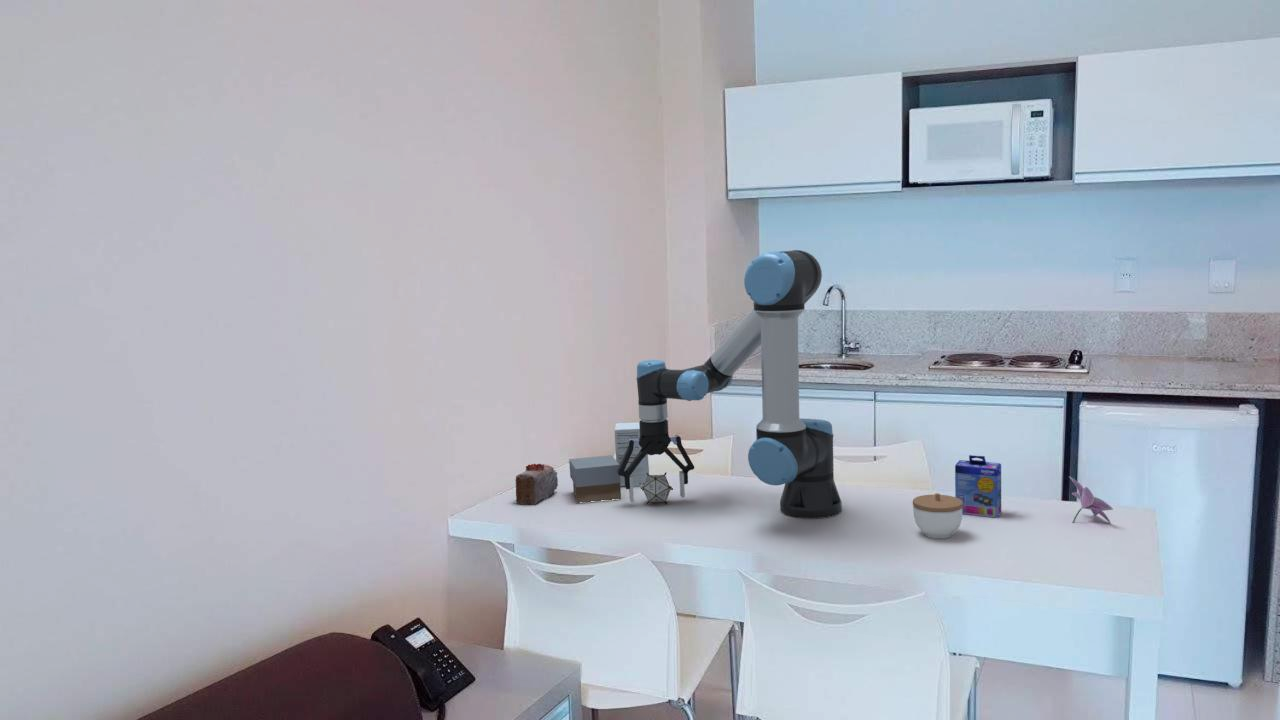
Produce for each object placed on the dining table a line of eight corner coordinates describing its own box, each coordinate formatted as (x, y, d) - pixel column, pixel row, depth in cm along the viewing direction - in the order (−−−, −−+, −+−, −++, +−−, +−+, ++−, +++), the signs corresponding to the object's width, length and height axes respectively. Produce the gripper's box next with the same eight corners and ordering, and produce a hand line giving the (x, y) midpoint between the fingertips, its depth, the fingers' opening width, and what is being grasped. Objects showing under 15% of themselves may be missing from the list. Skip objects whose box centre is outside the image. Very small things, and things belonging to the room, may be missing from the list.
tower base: (621, 501, 246) (620, 483, 245) (576, 504, 244) (575, 486, 243) (616, 489, 257) (615, 472, 257) (573, 493, 256) (572, 476, 255)
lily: (1111, 536, 201) (1128, 497, 201) (1057, 513, 204) (1074, 474, 205) (1098, 536, 212) (1114, 499, 213) (1047, 514, 216) (1063, 477, 216)
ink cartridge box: (954, 514, 219) (953, 455, 217) (959, 507, 224) (958, 450, 222) (997, 518, 214) (997, 458, 212) (1001, 512, 219) (1001, 453, 217)
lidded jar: (909, 527, 211) (908, 487, 210) (957, 526, 209) (956, 486, 208) (918, 542, 200) (917, 500, 199) (968, 541, 199) (968, 500, 198)
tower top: (620, 482, 245) (619, 464, 245) (576, 487, 243) (575, 468, 242) (612, 472, 257) (611, 455, 256) (570, 476, 254) (569, 459, 254)
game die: (663, 514, 243) (682, 482, 244) (660, 512, 234) (679, 478, 236) (634, 497, 245) (653, 465, 246) (630, 494, 236) (650, 461, 238)
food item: (534, 491, 259) (532, 457, 258) (560, 492, 257) (558, 458, 255) (513, 504, 246) (511, 469, 245) (540, 506, 244) (538, 470, 242)
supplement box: (618, 479, 268) (615, 422, 266) (649, 477, 268) (646, 421, 265) (617, 487, 258) (613, 429, 256) (649, 486, 258) (646, 427, 256)
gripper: (697, 413, 243) (700, 490, 246) (604, 420, 240) (608, 498, 243) (703, 418, 236) (706, 498, 238) (607, 425, 233) (611, 506, 235)
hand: (657, 498), depth 241 cm, fingers open, 13 cm apart
